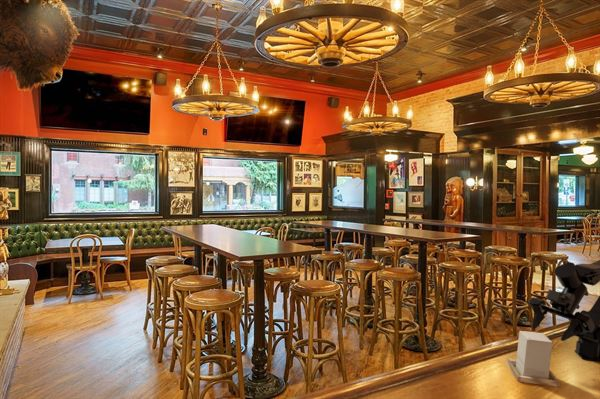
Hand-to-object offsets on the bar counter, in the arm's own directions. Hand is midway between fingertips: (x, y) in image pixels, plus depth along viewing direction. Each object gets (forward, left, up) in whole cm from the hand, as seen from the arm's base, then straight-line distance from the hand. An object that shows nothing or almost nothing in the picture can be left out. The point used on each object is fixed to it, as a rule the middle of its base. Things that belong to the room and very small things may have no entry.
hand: (546, 334), depth 131 cm
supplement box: (+5, +4, -12) cm, 14 cm away
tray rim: (+5, +4, -12) cm, 14 cm away
